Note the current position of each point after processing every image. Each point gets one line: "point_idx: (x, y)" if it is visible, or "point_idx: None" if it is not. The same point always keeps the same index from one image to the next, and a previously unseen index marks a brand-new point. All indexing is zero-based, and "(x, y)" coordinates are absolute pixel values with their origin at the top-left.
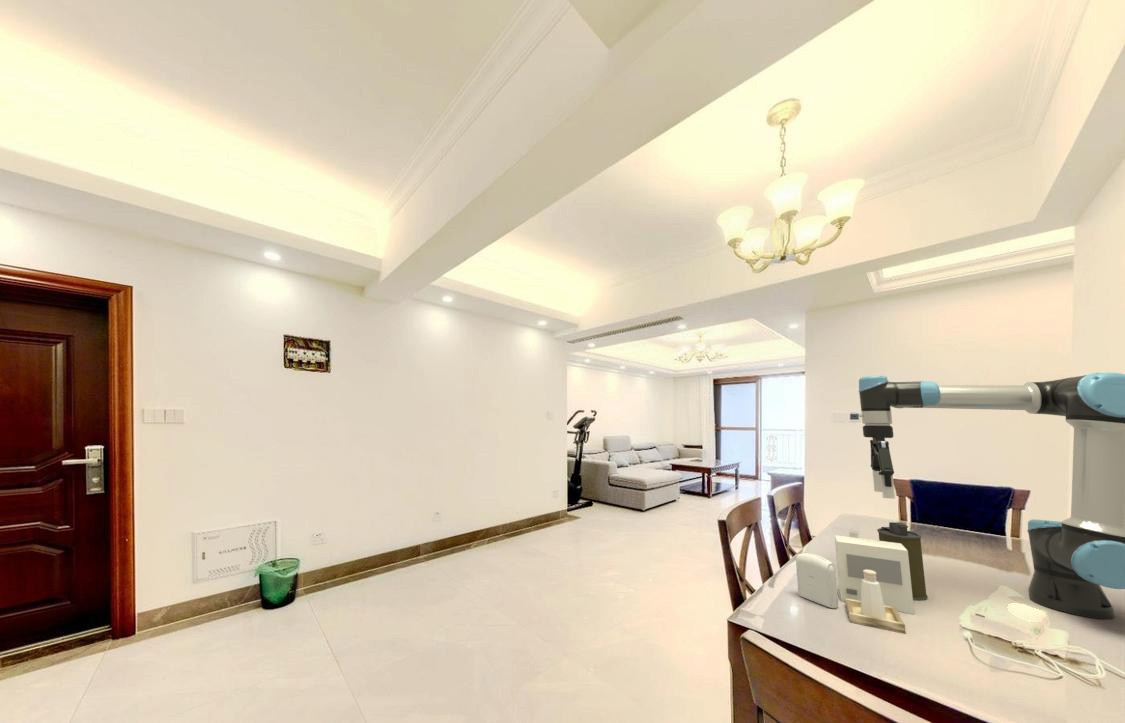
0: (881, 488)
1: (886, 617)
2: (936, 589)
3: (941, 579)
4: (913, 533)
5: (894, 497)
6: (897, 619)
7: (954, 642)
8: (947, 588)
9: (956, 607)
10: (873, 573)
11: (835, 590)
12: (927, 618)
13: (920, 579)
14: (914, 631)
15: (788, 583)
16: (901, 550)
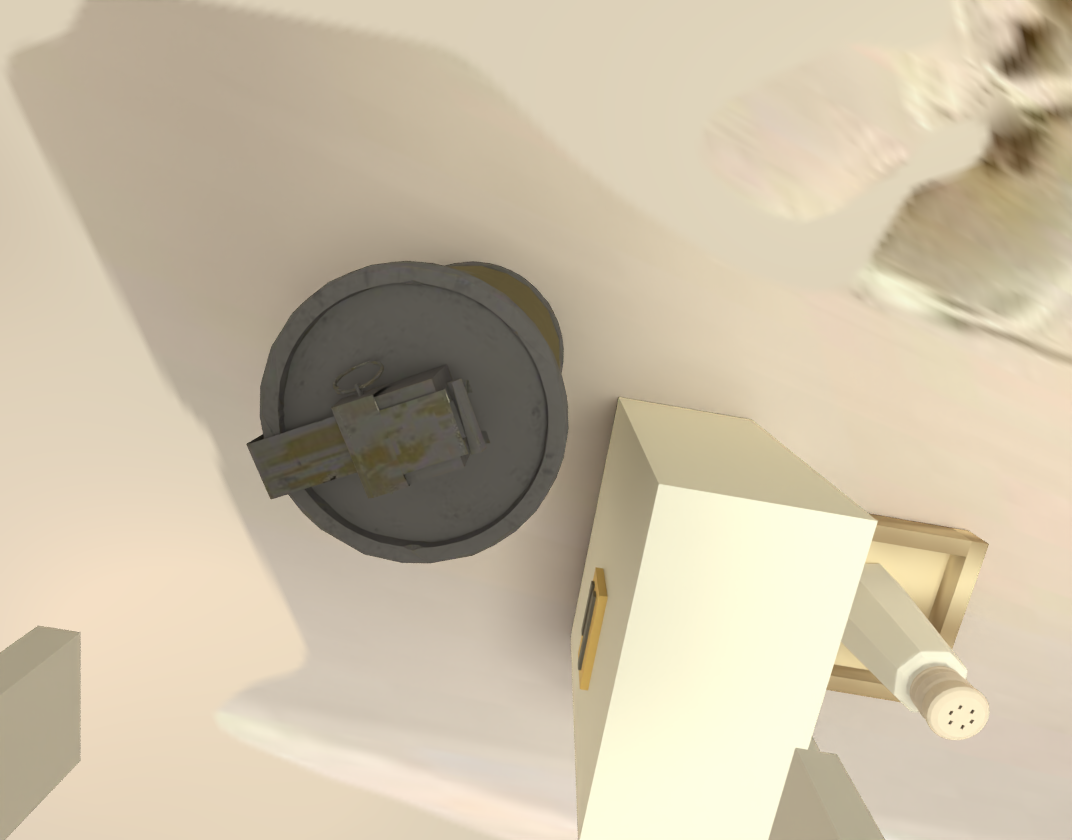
0: (37, 718)
1: (882, 566)
2: (337, 159)
3: (122, 41)
4: (360, 290)
5: (840, 771)
6: (940, 551)
7: (1000, 384)
8: (289, 86)
9: (588, 183)
10: (988, 706)
11: (814, 746)
12: (779, 382)
13: (543, 312)
14: (935, 489)
15: (554, 810)
16: (865, 553)
